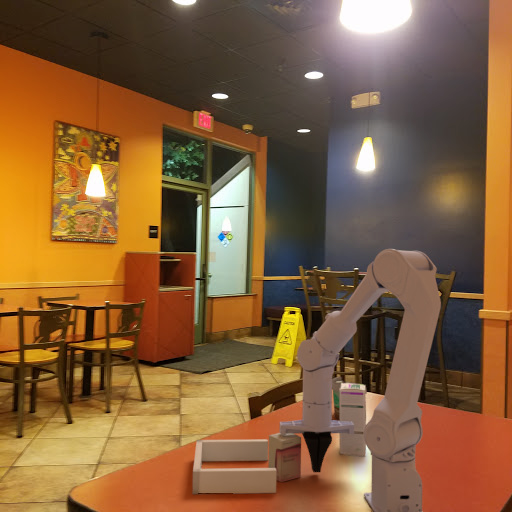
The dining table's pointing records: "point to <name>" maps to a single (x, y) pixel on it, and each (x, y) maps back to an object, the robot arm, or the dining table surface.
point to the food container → (338, 394)
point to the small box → (285, 456)
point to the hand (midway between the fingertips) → (316, 470)
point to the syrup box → (353, 418)
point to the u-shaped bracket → (232, 477)
